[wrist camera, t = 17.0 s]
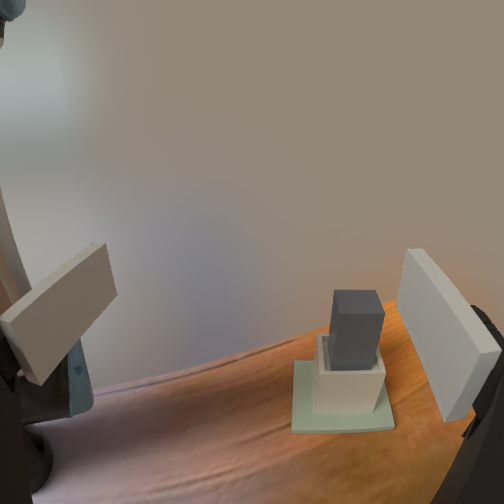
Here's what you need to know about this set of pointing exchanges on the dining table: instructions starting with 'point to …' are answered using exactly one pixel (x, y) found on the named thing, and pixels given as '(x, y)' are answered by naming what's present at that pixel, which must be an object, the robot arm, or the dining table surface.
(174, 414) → the dining table surface
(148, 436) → the dining table surface
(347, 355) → the charcoal brick
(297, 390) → the green baseplate
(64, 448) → the dining table surface
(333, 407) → the cream base brick
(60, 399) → the robot arm
